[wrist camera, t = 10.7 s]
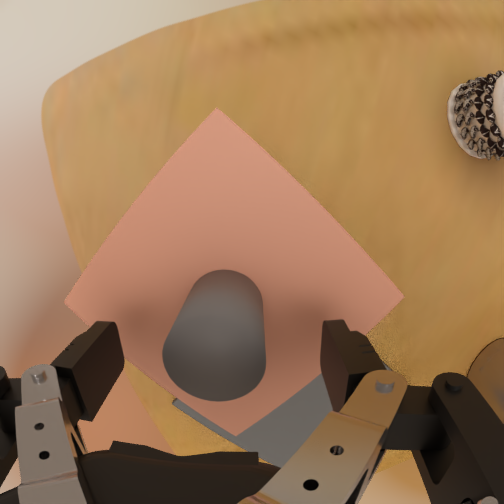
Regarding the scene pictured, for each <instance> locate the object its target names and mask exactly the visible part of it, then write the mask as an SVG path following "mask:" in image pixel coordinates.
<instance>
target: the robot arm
mask: <svg viewBox="0 0 504 504" xmlns="http://www.w3.org/2000/svg"><path fill="white" fill-rule="evenodd" d="M320 367H321V372H322V376H323V379H324V382H325V385H326V389H327V392H328V395H329V398H330V402H331V405H332V408H333V410H332V411H331V412H329V413H328V415H327V416H326V417H325V418H324V419H323V421H322V422H321V423H320V424H319V426H318V427H317V428H316V429H315V431H314V432H313V433H312V434H311V435H310V436H309V438H308V439H307V440H306V441H305V442H304V444H303V445H302V446H301V447H300V448H299V449H298V450H297V452H296V453H295V454H294V455H293V456H292V457H291V458H290V459H289V460H288V462H287V463H286V464H285V465H284V466H283V467H282V468H280V467H277V466H275V465H271V464H267V463H262V462H259V457H258V452H214V453H207V454H199V455H191V456H176V455H173V454H170V453H166V452H163V451H160V450H157V449H154V448H151V447H148V446H145V445H138V444H130V443H125V442H119V441H113V443H112V445H111V447H110V449H109V450H102V451H95V452H91V453H88V450H87V448H86V445H85V442H84V439H83V436H82V433H81V430H80V428H79V425H78V423H77V422H78V421H79V419H81V420H86V421H91V422H92V421H93V419H94V418H95V416H96V414H97V412H98V411H99V409H100V407H101V405H102V404H103V402H104V400H105V399H106V397H107V395H108V394H109V392H110V390H111V389H112V387H113V385H114V383H115V382H116V380H117V379H118V377H119V375H120V374H121V372H122V370H123V368H124V354H123V349H122V345H121V341H120V336H119V332H118V328H117V325H116V323H115V322H112V321H96V322H95V323H94V324H93V325H92V326H91V327H90V328H89V329H88V330H87V331H86V332H84V333H83V334H81V335H79V336H77V337H76V338H75V339H74V340H73V341H72V342H71V343H70V345H68V346H67V347H66V348H65V350H63V351H62V353H61V354H60V355H59V356H58V357H57V358H56V359H55V360H54V361H53V362H52V363H51V364H50V365H47V364H41V365H37V366H33V367H31V368H29V369H28V370H26V371H25V372H24V373H23V374H22V377H21V378H12V379H11V378H8V376H7V373H6V371H5V369H4V368H3V367H1V366H0V487H1V485H2V483H3V481H4V480H5V478H6V476H7V475H8V473H9V471H10V469H11V468H12V466H13V464H14V463H15V461H16V459H17V458H18V459H19V467H20V475H21V484H20V485H19V486H17V487H16V488H13V489H11V490H8V491H6V492H4V493H2V494H0V504H358V503H359V501H360V499H361V497H362V495H363V493H364V491H365V489H366V488H367V485H368V484H369V482H370V481H371V479H372V477H373V475H374V473H375V472H376V470H377V468H378V466H379V464H380V462H381V460H382V459H383V457H384V455H385V453H386V451H387V449H390V450H411V451H412V454H413V456H414V459H415V461H416V464H417V467H418V469H419V472H420V474H421V477H422V480H423V482H424V485H425V488H426V490H427V493H428V496H429V499H430V502H431V504H504V338H501V339H498V340H496V341H494V342H492V343H491V344H490V345H488V346H487V347H486V348H485V349H484V350H483V351H482V352H481V353H480V355H479V356H478V357H477V358H476V360H475V361H474V363H473V365H472V367H471V368H470V371H469V373H468V377H465V376H464V375H461V374H458V373H452V372H448V373H442V374H440V375H438V376H436V377H435V379H434V380H433V383H432V387H425V386H410V385H407V381H406V379H405V378H404V377H403V376H402V375H400V374H399V373H396V372H394V371H389V370H387V369H386V367H385V366H384V364H383V362H382V361H381V359H380V357H379V356H378V354H377V353H376V352H375V349H374V348H373V346H371V343H370V341H369V340H368V338H367V337H366V336H365V335H363V334H362V333H360V332H358V331H350V330H349V328H348V326H347V325H346V323H345V321H344V320H343V319H338V320H324V321H323V325H322V337H321V351H320Z"/></svg>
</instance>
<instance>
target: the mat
mask: <svg viewBox="0 0 504 504" xmlns="http://www.w3.org/2000/svg"><path fill="white" fill-rule="evenodd" d="M381 361H382V360H381ZM382 362H383V361H382ZM383 364H384V366H385V367H386V369H387V370H389V371H392V370H391V369H390V368H389V367H388V366H387V365H386V364H385V363H384V362H383ZM172 404H173V405H174V406H176V407H177V408H178V409H180V410H181V411H183V412H184V413H186V414H187V415H189V416H190V417H192V418H193V419H195V420H196V421H198V422H200V423H201V424H203V425H204V426H206V427H207V428H209V429H211V430H212V431H214V432H216V433H217V434H219V435H220V436H222V437H224V438H225V439H227V440H229V441H231V442H232V443H234V444H236V445H238V446H239V447H241V448H243V449H245V450H246V451H248V452H258V457H259V458H261V459H263V460H265V461H267V462H269V463H271V464H273V465H275V466H277V467H280V468H282V467H283V466H284V465H285V464H286V463H287V462H288V460H289V459H290V458H291V457H292V456H293V455H294V454H295V453H296V452H297V450H298V449H299V448H300V447H301V446H302V445H303V444H304V442H305V441H306V440H307V439H308V438H309V436H310V435H311V434H312V433H313V432H314V431H315V429H316V428H317V427H318V426H319V424H320V423H321V422H322V421H323V419H324V418H325V417H326V416H327V415H328V413H329V412H331V411H332V410H333V408H332V405H331V402H330V398H329V395H328V392H327V389H326V385H325V382H324V379H323V376H322V373H321V374H320V375H318V376H317V377H316V378H315V379H313V380H312V381H311V382H310V383H308V384H307V385H306V386H305V387H303V388H302V389H301V390H300V391H298V392H297V393H296V394H294V395H293V396H292V397H290V398H289V399H288V400H286V401H285V402H284V403H282V404H281V405H280V406H278V407H277V408H276V409H274V410H273V411H272V412H270V413H269V414H267V415H266V416H265V417H263V418H262V419H260V420H259V421H258V422H256V423H255V424H253V425H252V426H250V427H249V428H247V429H246V430H244V431H243V432H241V433H240V434H238V435H237V436H234V435H233V434H231V433H229V432H228V431H226V430H224V429H223V428H221V427H220V426H218V425H216V424H215V423H213V422H212V421H210V420H209V419H207V418H206V417H204V416H202V415H201V414H199V413H198V412H196V411H195V410H194V409H192V408H191V407H189V406H188V405H186V404H185V403H183V402H182V401H181V400H179V399H178V398H176V399H175V400H173V402H172Z"/></svg>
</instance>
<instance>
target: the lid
mask: <svg viewBox="0 0 504 504" xmlns="http://www.w3.org/2000/svg"><path fill="white" fill-rule="evenodd" d="M404 297H405V296H404V295H403V294H402V293H401V292H400V291H399V289H398V288H397V287H396V286H395V285H394V284H393V282H392V281H391V280H390V279H389V278H388V277H387V275H386V274H385V273H384V272H383V271H382V270H381V269H380V268H379V266H378V265H377V264H376V263H375V262H374V261H373V260H372V259H371V257H370V256H369V255H368V254H367V253H366V252H365V251H364V250H363V249H362V248H361V246H360V245H359V244H358V243H357V242H356V241H355V240H354V239H353V238H352V237H351V236H350V235H349V234H348V232H347V231H346V230H345V229H344V228H343V227H342V226H341V225H340V224H339V223H338V222H337V221H336V220H335V219H334V218H333V217H332V216H331V215H330V214H329V213H328V212H327V210H326V209H325V208H324V207H323V206H322V205H321V204H320V203H319V202H318V201H317V200H316V199H315V198H314V197H313V196H312V195H311V194H310V193H309V192H308V191H307V190H306V189H305V188H304V187H303V186H302V185H301V184H300V183H299V182H298V181H297V180H296V179H295V178H294V177H293V176H291V175H290V174H289V173H288V172H287V171H286V170H285V169H284V168H283V167H282V166H281V165H280V164H279V163H278V162H277V161H276V160H275V159H274V158H273V157H272V156H270V155H269V154H268V153H267V152H266V151H265V150H264V149H263V148H262V147H261V146H260V145H259V144H258V143H256V142H255V141H254V140H253V139H252V138H251V137H250V136H249V135H248V134H247V133H245V132H244V131H243V130H242V129H241V128H240V127H239V126H238V125H236V124H235V123H234V122H233V121H232V120H231V119H230V118H229V117H227V116H226V115H225V114H224V113H223V112H222V111H220V110H219V109H218V108H216V109H215V110H214V111H213V112H212V113H211V114H210V115H209V116H208V117H207V118H206V119H205V120H204V121H203V122H202V123H201V124H200V126H199V127H198V128H197V129H196V130H195V131H194V132H193V133H192V134H191V135H190V136H189V137H188V139H187V140H186V141H185V142H184V143H183V144H182V145H181V146H180V147H179V149H178V150H177V151H176V152H175V153H174V154H173V155H172V157H171V158H170V159H169V160H168V161H167V162H166V163H165V165H164V166H163V167H162V168H161V169H160V171H159V172H158V173H157V174H156V175H155V177H154V178H153V179H152V180H151V181H150V183H149V184H148V185H147V186H146V187H145V189H144V190H143V191H142V192H141V194H140V195H139V196H138V197H137V199H136V200H135V201H134V202H133V204H132V205H131V206H130V208H129V209H128V210H127V212H126V213H125V214H124V215H123V217H122V218H121V219H120V221H119V222H118V223H117V225H116V226H115V227H114V229H113V230H112V231H111V233H110V234H109V236H108V237H107V238H106V240H105V241H104V243H103V244H102V245H101V247H100V248H99V250H98V251H97V252H96V254H95V255H94V257H93V258H92V260H91V261H90V263H89V264H88V266H87V267H86V268H85V270H84V271H83V273H82V274H81V276H80V277H79V279H78V281H77V282H76V284H75V285H74V287H73V288H72V290H71V292H70V293H69V295H68V296H67V298H66V299H65V301H64V303H65V304H66V305H67V306H68V307H69V308H70V309H71V310H72V311H73V312H74V313H75V314H76V315H77V316H79V317H80V319H81V320H83V321H84V322H85V323H86V324H87V325H88V326H89V327H91V326H92V325H93V324H94V323H95V322H96V321H112V322H115V323H116V325H117V328H118V332H119V336H120V341H121V345H122V349H123V354H124V358H126V359H127V360H128V361H129V362H130V363H132V364H133V365H134V366H135V367H137V368H138V369H139V370H140V371H142V372H143V373H144V374H145V375H147V376H148V377H149V378H151V379H152V380H153V381H155V382H156V383H157V384H159V385H160V386H161V387H163V388H164V389H165V390H167V391H168V392H169V393H171V394H172V395H173V396H175V397H176V398H178V399H179V400H181V401H182V402H183V403H185V404H186V405H188V406H189V407H191V408H192V409H194V410H195V411H196V412H198V413H199V414H201V415H202V416H204V417H206V418H207V419H209V420H210V421H212V422H213V423H215V424H216V425H218V426H220V427H221V428H223V429H224V430H226V431H228V432H229V433H231V434H233V435H234V436H237V435H238V434H240V433H241V432H243V431H244V430H246V429H247V428H249V427H250V426H252V425H253V424H255V423H256V422H258V421H259V420H260V419H262V418H263V417H265V416H266V415H267V414H269V413H270V412H272V411H273V410H274V409H276V408H277V407H278V406H280V405H281V404H282V403H284V402H285V401H286V400H288V399H289V398H290V397H292V396H293V395H294V394H296V393H297V392H298V391H300V390H301V389H302V388H303V387H305V386H306V385H307V384H308V383H310V382H311V381H312V380H313V379H315V378H316V377H317V376H318V375H320V374H321V373H322V372H321V367H320V351H321V337H322V325H323V321H324V320H338V319H343V320H344V321H345V323H346V325H347V326H348V328H349V330H350V331H358V332H360V333H362V334H363V335H366V334H367V333H368V332H369V331H370V330H371V329H372V328H373V327H374V326H375V325H376V324H378V323H379V322H380V321H381V320H382V319H383V318H384V317H385V316H386V315H387V314H388V313H389V312H390V311H391V310H392V309H393V308H394V307H395V306H396V305H397V304H398V303H399V302H400V301H401V300H402V299H403V298H404Z"/></svg>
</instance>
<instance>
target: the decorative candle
mask: <svg viewBox="0 0 504 504" xmlns="http://www.w3.org/2000/svg"><path fill="white" fill-rule="evenodd" d="M447 118H448V122H449V125H450V129H451V133H452V134H453V136H454V138H455V140H456V141H457V143H458V145H459V146H460V147H461V148H462V149H463V150H464V151H465V152H466V153H467V154H469V155H470V156H473V157H476V158H479V159H483V158H487V159H488V160H490V159H491V156H492V155H494V156H495V159H496V160H500V157H504V72H503V71H497V72H496V75H495V74H488V75H487V77H485V78H484V77H477V78H475V80H468V81H467V82H466V83H464V84H460V85H458V86H457V87H456V88H455V89H453V90H452V92H451V94H450V97H449V99H448V102H447Z"/></svg>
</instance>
